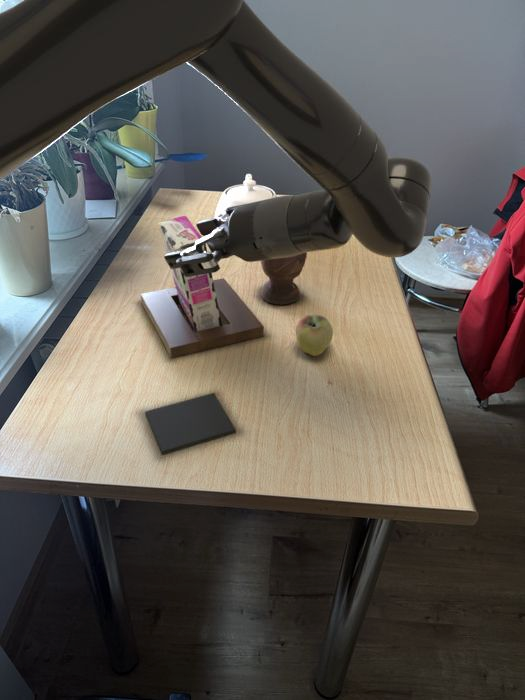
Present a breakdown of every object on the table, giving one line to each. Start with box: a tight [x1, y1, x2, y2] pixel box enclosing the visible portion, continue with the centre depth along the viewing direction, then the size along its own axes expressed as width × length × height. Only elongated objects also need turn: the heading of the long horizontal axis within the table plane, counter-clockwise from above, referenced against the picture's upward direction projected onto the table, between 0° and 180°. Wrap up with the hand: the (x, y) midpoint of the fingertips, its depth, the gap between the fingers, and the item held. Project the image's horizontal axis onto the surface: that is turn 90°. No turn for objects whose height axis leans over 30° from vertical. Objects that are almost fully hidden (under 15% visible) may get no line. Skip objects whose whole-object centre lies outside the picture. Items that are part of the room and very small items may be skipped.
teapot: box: [214, 173, 278, 218], centre depth 120 cm, size 25×16×12 cm, turn 2°
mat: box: [144, 392, 236, 455], centre depth 71 cm, size 10×8×1 cm
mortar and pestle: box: [260, 252, 308, 306], centre depth 94 cm, size 12×9×20 cm
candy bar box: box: [158, 215, 223, 332], centre depth 87 cm, size 11×5×16 cm, turn 22°
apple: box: [295, 314, 334, 357], centre depth 85 cm, size 6×8×6 cm
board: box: [140, 277, 265, 359], centre depth 92 cm, size 16×18×2 cm
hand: (184, 244), depth 78 cm, fingers open, 8 cm apart
